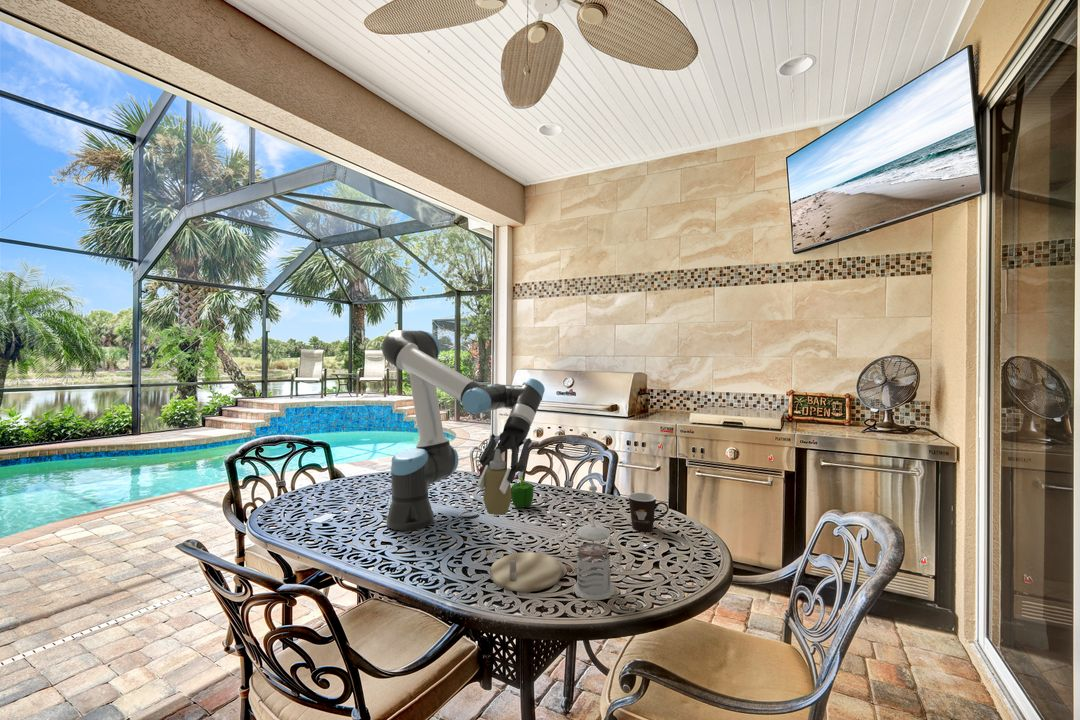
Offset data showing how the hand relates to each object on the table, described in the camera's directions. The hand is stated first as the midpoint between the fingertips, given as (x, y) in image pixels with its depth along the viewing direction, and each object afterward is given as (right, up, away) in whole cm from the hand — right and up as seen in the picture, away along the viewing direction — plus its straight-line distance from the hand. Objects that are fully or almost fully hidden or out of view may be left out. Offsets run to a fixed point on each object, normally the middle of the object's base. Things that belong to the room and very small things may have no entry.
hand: (491, 489), depth 131 cm
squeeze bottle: (+1, -8, +3) cm, 9 cm away
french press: (+27, -19, -19) cm, 38 cm away
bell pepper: (+7, -18, +41) cm, 45 cm away
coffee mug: (+47, -18, +18) cm, 54 cm away
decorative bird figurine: (-3, -17, +58) cm, 61 cm away
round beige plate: (+10, -19, -10) cm, 24 cm away
